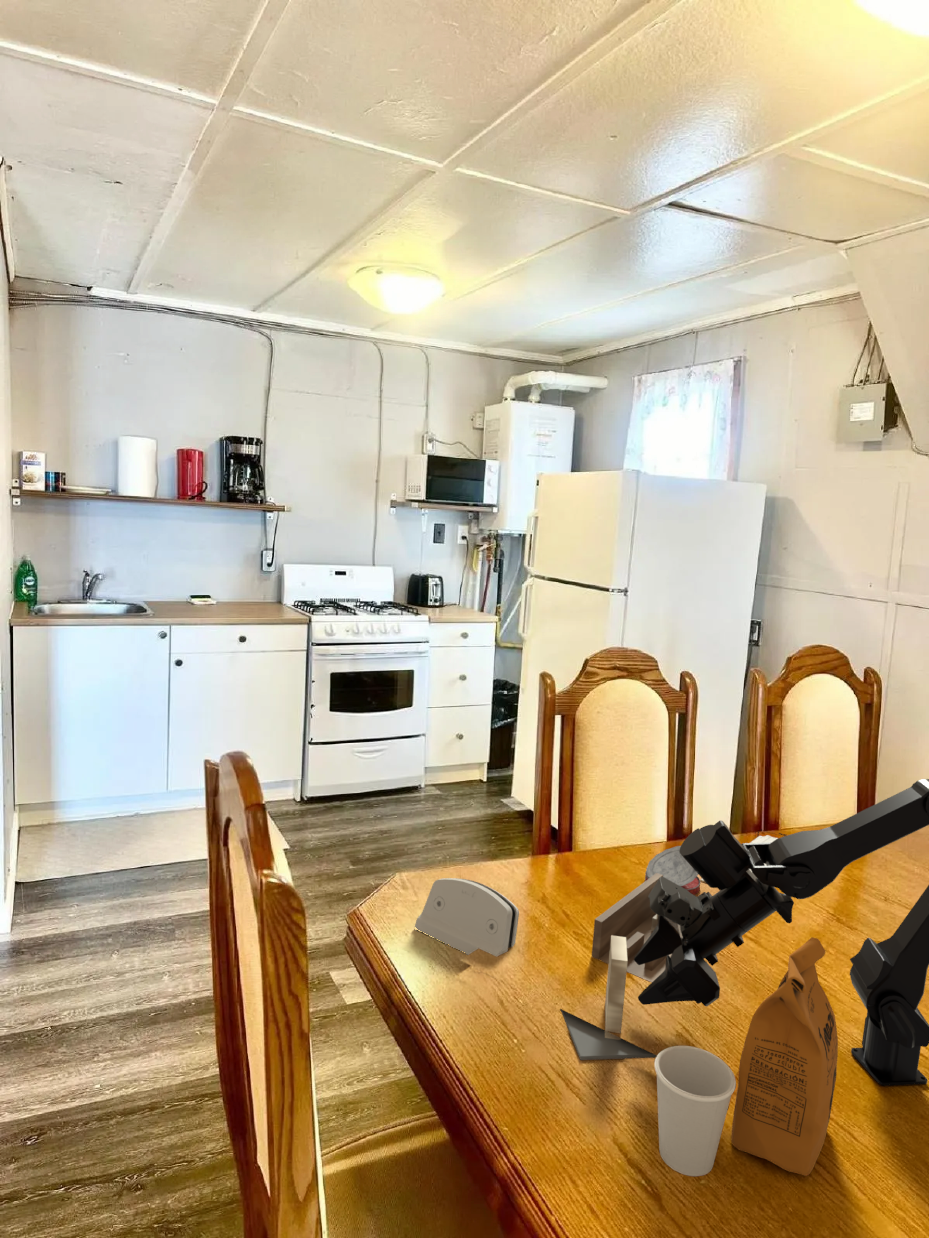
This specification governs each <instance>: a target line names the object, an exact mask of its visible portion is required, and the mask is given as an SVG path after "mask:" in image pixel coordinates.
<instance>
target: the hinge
mask: <svg viewBox="0 0 929 1238" xmlns="http://www.w3.org/2000/svg"><path fill="white" fill-rule="evenodd" d="M519 917H520V909H518V907H517V906H516V905H515V904H514V903H513V902H512V901H511V900H510V899H509V898H508V897H506V896H504V895H503V894H502V893H500V892H499V891H497V890H495V889H494V888H492V887H489V886H488V885H486V884H484V883H481V882H478V881H475V880H470V879H466V878H457V877H456V878H455V877H453V878H451V877H448V878H447V877H446V878H443V877H442V878H439V879H436V880H434V881H433V884H432V886H431V888H430V891H429V894H428V896H427V899H426V902H425V905H424V906H423V909H422V911H421V913H420V914H419V916H418V917H417V918H416V921H415V924H414V927H416V928H417V929H418V930H420V931H422V932H424V933H426V934H428V935H430V936H432V937H434V938H436V939H438V940H440V941H442V942H444V943H445V944H444V945H446V944H449V945H450V946H451V947H450V946H449V947H450V948H452V947H453V948H452V949H454V948H456V949H458V950H460V951H459V952H461V951H463V952H465V953H466V954H465V953H464V954H465V955H467V956H469V955H471V954H472V953H474V952H475V951H477V950H479V949H480V950H481V951H483V952H486V953H487V954H490V955H492V956H494V957H496V958H497V957H499V956H501V955H503V954H504V953H508V951H509V948H513V947H514V946H515V944H516V940H517V932H518V924H519V919H520V918H519ZM456 949H455V950H456ZM458 950H457V951H458ZM463 952H462V953H463Z"/></svg>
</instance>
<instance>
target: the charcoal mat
mask: <svg viewBox="0 0 929 1238" xmlns="http://www.w3.org/2000/svg"><path fill="white" fill-rule="evenodd" d="M560 1012H561V1014H562V1017H563V1019H564V1022H565V1025H566V1028H567V1029H568V1033H569V1034H570V1037H571V1040H572V1043H573V1045H574V1047H575V1050H576V1053H577V1055H578V1057H579V1059H580V1061H586V1060H587V1061H588V1060H589V1061H591V1060H594V1061H595V1060H619V1059H620V1060H622V1059H646V1058H651V1059H652V1058H653V1059H654V1058H656V1057H657V1055H658V1054H655V1053H652V1052H650V1051H649V1050H647V1049H645V1048H642V1047H641V1046H638V1045H636V1044H634V1043H632V1042H630V1041H627V1040H625V1039H623V1038H622V1037H620V1038H621V1039H620V1040H617V1039H610V1038H605V1029H604V1028H601V1027H599V1026H597V1025H595V1024H593V1023H591V1022H590V1021H589V1022H588V1021H587V1020H584V1019H583V1018H581V1017H578V1016H576V1015H574V1014H572V1013H570V1012H568V1011H566V1010H564V1009H562V1008H560Z"/></svg>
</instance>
